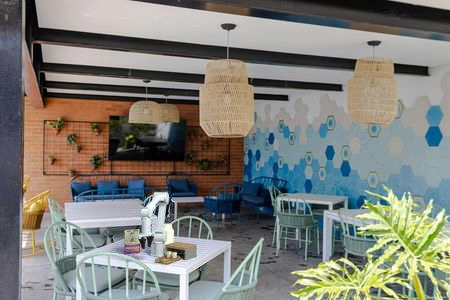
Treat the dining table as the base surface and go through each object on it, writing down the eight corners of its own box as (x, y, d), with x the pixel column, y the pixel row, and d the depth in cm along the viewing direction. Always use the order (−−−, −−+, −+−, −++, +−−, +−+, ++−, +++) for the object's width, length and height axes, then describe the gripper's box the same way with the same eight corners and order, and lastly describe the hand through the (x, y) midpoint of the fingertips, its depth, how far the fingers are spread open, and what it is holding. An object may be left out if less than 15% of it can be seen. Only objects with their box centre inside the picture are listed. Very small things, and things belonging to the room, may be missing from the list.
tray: (155, 262, 274) (155, 254, 274) (168, 258, 286) (168, 250, 286) (166, 264, 269) (166, 256, 269) (180, 259, 281) (180, 252, 281)
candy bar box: (140, 251, 305) (140, 229, 305) (140, 253, 300) (140, 230, 300) (124, 252, 302) (124, 229, 302) (124, 254, 297) (124, 230, 297)
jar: (169, 241, 338) (169, 222, 338) (176, 243, 330) (176, 224, 330) (157, 243, 331) (157, 224, 331) (163, 245, 323) (163, 226, 323)
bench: (165, 256, 289) (165, 244, 289) (176, 253, 299) (176, 241, 299) (186, 260, 279) (186, 248, 279) (196, 256, 290) (196, 244, 290)
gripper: (143, 229, 264) (143, 251, 264) (158, 226, 277) (158, 246, 277) (134, 228, 268) (134, 249, 268) (150, 225, 280) (150, 245, 280)
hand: (146, 248), depth 273 cm, fingers open, 5 cm apart
